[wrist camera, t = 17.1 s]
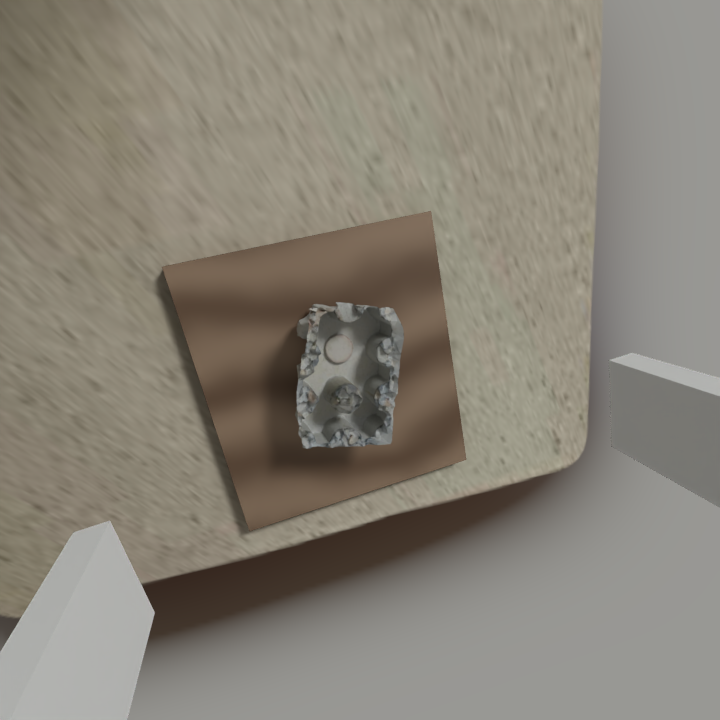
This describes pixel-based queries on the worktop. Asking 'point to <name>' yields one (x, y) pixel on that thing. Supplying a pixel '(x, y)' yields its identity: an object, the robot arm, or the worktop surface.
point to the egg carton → (348, 375)
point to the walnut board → (284, 351)
